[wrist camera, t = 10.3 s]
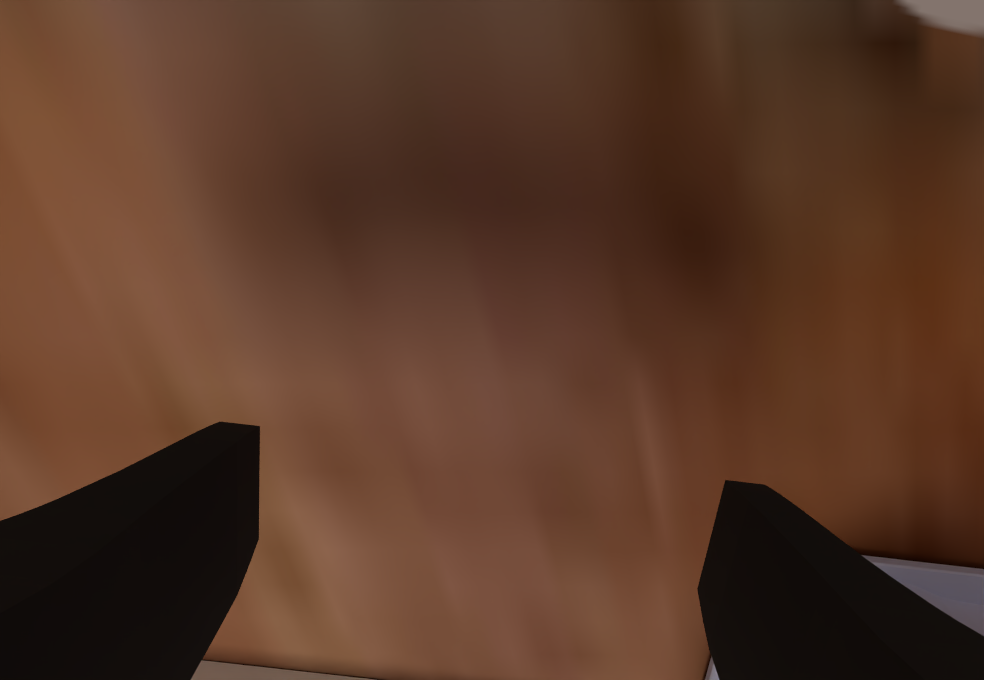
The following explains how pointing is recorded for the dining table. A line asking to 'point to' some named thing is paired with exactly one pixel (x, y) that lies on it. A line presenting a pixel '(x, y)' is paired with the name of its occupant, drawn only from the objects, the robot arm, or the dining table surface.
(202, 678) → the key housing
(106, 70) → the dining table surface
